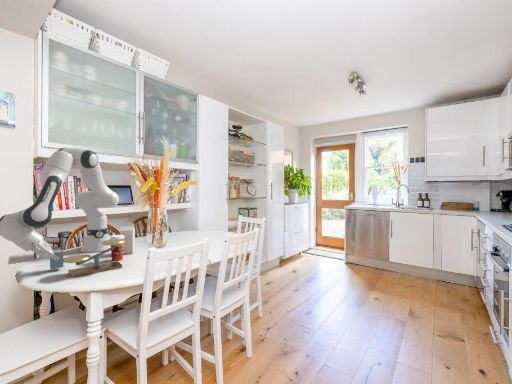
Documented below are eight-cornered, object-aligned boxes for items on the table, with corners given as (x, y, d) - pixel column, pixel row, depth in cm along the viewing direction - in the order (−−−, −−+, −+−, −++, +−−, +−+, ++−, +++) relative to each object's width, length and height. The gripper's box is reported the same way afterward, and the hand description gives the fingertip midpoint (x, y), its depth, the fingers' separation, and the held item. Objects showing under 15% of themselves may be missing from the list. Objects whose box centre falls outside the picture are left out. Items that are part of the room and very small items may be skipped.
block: (49, 266, 127) (49, 251, 126) (62, 264, 130) (62, 249, 130) (50, 269, 123) (50, 253, 123) (63, 267, 127) (63, 251, 126)
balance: (61, 273, 122) (61, 245, 122) (122, 262, 141) (122, 238, 140) (64, 280, 114) (64, 250, 114) (128, 267, 133) (128, 241, 132)
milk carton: (132, 253, 158) (132, 224, 158) (120, 254, 156) (120, 224, 156) (134, 250, 165) (134, 222, 164) (122, 251, 163) (123, 222, 162)
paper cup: (118, 262, 141) (118, 237, 141) (106, 260, 143) (106, 236, 142) (127, 258, 149) (127, 234, 148) (116, 257, 150) (116, 234, 150)
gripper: (39, 240, 114) (66, 257, 121) (37, 233, 129) (61, 248, 136) (26, 252, 111) (54, 268, 118) (25, 243, 126) (50, 258, 133)
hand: (58, 258), depth 127 cm, fingers closed on block, 5 cm apart
